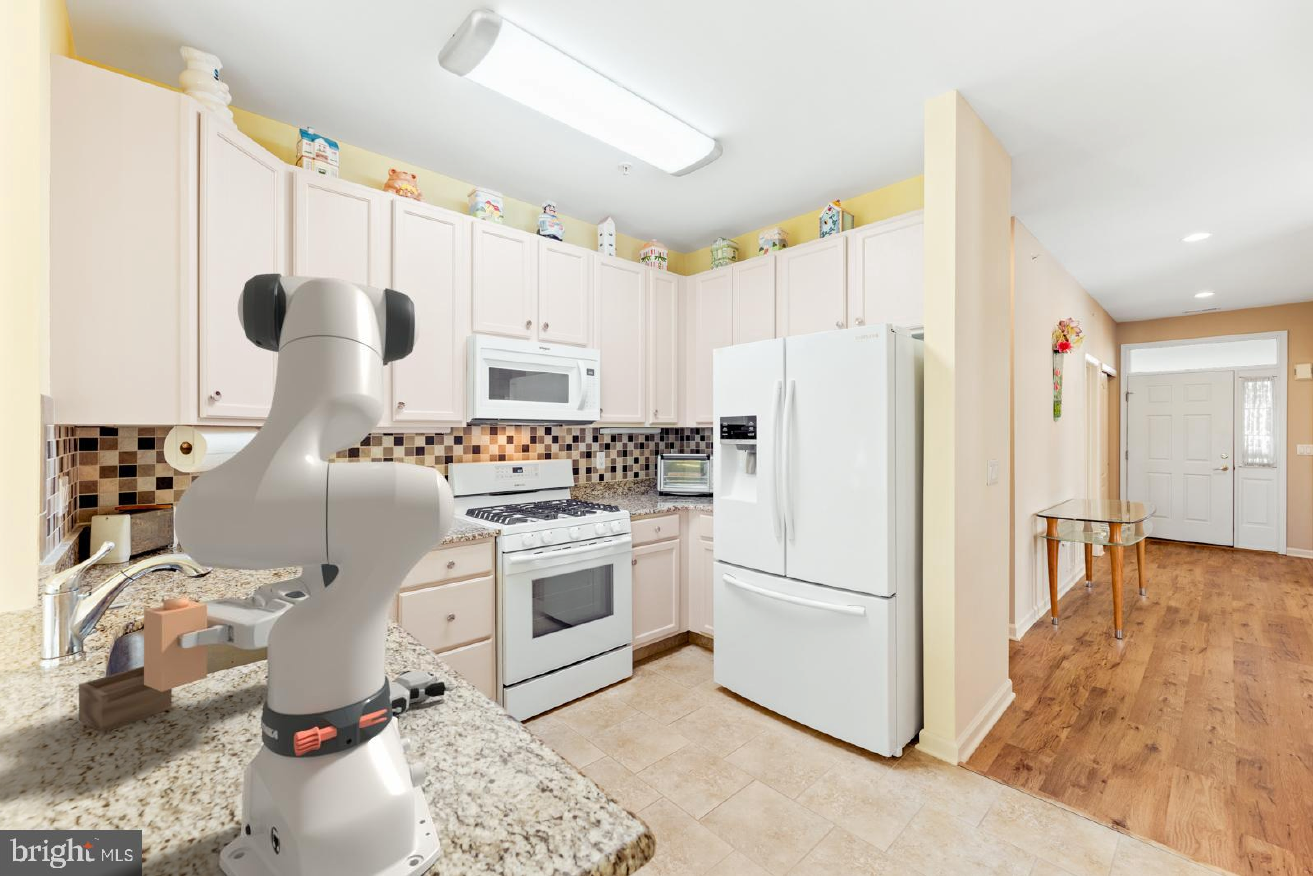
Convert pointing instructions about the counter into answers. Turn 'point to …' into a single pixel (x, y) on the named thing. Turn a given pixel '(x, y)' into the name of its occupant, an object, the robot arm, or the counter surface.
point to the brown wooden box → (120, 700)
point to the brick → (173, 644)
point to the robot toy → (415, 689)
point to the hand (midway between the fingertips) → (167, 638)
